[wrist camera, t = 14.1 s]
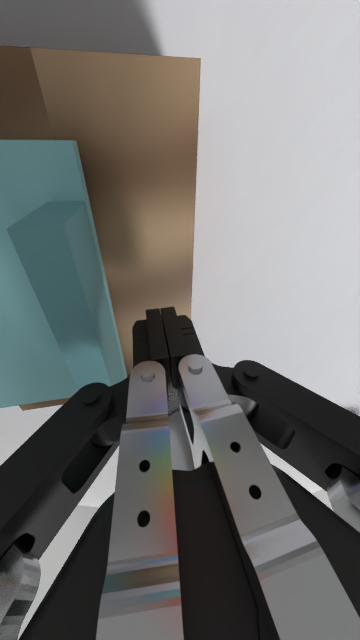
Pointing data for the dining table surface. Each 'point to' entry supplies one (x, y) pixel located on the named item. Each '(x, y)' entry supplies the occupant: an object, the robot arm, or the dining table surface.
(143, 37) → the dining table surface
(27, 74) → the wooden box
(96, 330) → the sliding lid
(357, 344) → the dining table surface
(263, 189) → the dining table surface
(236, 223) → the dining table surface
